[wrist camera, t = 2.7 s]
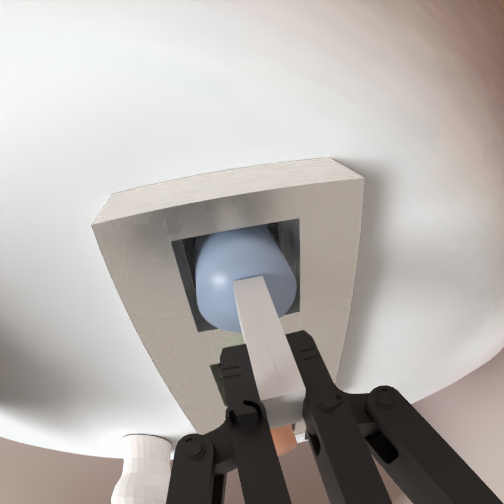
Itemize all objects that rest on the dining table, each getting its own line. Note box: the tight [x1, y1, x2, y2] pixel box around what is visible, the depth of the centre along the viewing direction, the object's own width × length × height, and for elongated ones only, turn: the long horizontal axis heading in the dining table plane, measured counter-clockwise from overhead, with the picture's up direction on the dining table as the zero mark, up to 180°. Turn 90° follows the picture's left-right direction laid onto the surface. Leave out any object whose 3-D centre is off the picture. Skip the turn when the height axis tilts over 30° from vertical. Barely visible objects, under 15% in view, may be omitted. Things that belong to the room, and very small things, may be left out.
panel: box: [91, 158, 365, 435], centre depth 23 cm, size 14×30×4 cm, turn 6°
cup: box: [111, 435, 171, 504], centre depth 28 cm, size 11×11×15 cm
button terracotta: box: [270, 424, 297, 456], centre depth 26 cm, size 5×5×5 cm
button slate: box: [194, 224, 297, 332], centre depth 17 cm, size 5×5×5 cm
